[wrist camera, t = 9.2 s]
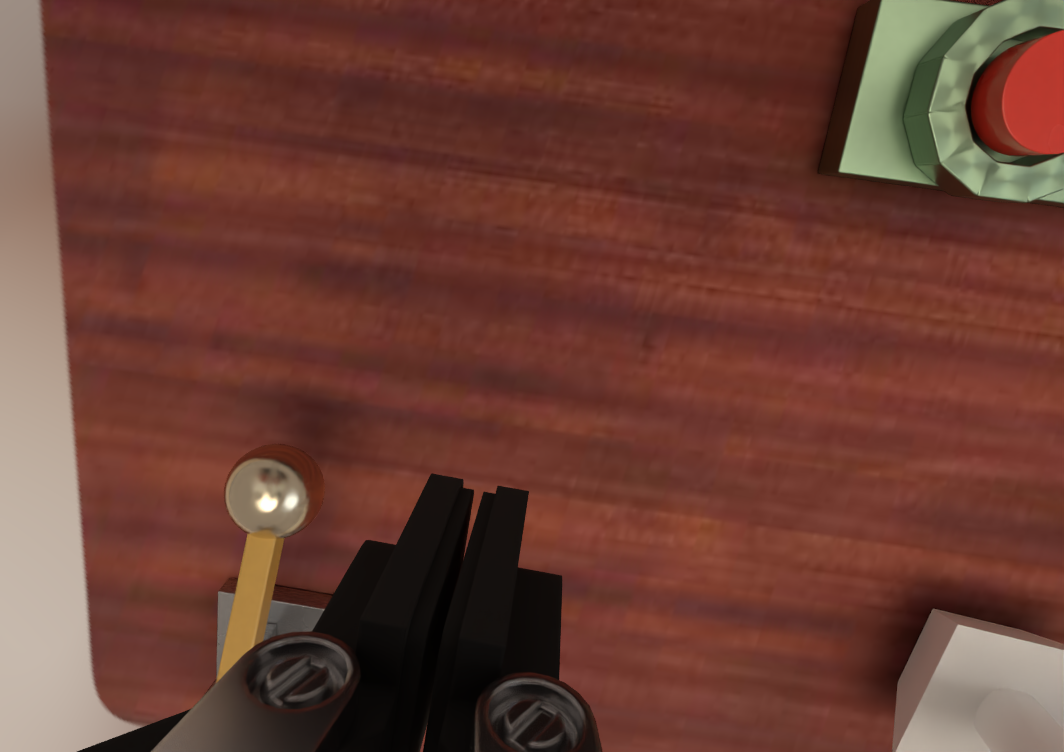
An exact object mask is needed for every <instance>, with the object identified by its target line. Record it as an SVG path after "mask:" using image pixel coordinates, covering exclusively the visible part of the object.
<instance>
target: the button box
mask: <svg viewBox="0 0 1064 752" xmlns="http://www.w3.org/2000/svg"><path fill="white" fill-rule="evenodd" d="M1061 30H1064V0H1003V1H1001V2H998V3H996V4H993V5H991V6H988V5H980V4H973V3H965V2H957V1H950V0H870V1H868V2H866V3H865V4H863V5H862V6H860V7H859V8H858V10H857V14H856V18H855V22H854V26H853V30H852V34H851V38H850V43H849V47H848V51H847V55H846V59H845V63H844V67H843V71H842V75H841V80H840V84H839V88H838V92H837V96H836V100H835V104H834V108H833V113H832V117H831V121H830V125H829V129H828V133H827V137H826V141H825V145H824V150H823V154H822V158H821V162H820V166H819V170H818V173H819V174H825V175H832V176H839V177H846V178H854V179H861V180H868V181H875V182H883V183H890V184H897V185H904V186H912V187H919V188H926V189H933V190H941V191H945V192H946V193H947V194H949V195H951V196H957V197H965V198H972V199H979V200H986V201H993V202H1011V203H1026V202H1027V203H1035V204H1042V205H1049V206H1056V207H1064V153H1060V154H1048V155H1031V156H1008V155H1004V154H1001V153H998V152H996V151H994V150H992V149H991V148H989V147H988V146H987V145H985V143H984V142H983V141H982V140H981V139H980V138H979V136H978V135H977V133H976V131H975V129H974V126H973V122H972V117H971V102H972V96H973V92H974V89H975V86H976V84H977V82H978V80H979V78H980V76H981V75H982V73H983V72H984V70H985V69H986V68H987V66H988V65H989V64H990V63H991V62H992V61H993V60H994V59H995V58H996V57H997V56H998V55H1000V54H1001V53H1002V52H1004V51H1005V50H1007V49H1008V48H1010V47H1012V46H1014V45H1017V44H1019V43H1022V42H1025V41H1029V40H1032V39H1035V38H1038V37H1041V36H1044V35H1048V34H1051V33H1054V32H1057V31H1061Z"/></svg>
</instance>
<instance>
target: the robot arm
mask: <svg viewBox="0 0 1064 752" xmlns="http://www.w3.org/2000/svg"><path fill="white" fill-rule="evenodd" d="M528 494H529V491H524V490H519V489H513V488H508V487H502V486H498V487H497V490H496V494H493V493H488V492H483V496H482V499H481V502H480V506H479V509H478V513H477V516H476V519H475V523H474V526H473V530H472V533H471V536H470V540H469V543H468V547H467V550H466V553H465V557H464V552H465V546H466V540H467V534H468V527H469V521H470V515H471V509H472V502H473V496H474V490H472V489H466V488H463V479H459V478H453V477H448V476H442V475H437V474H431V475H430V477H429V479H428V481H427V483H426V485H425V487H424V489H423V491H422V493H421V495H420V497H419V500H418V502H417V504H416V506H415V508H414V510H413V512H412V514H411V516H410V518H409V520H408V522H407V524H406V526H405V528H404V530H403V532H402V534H401V536H400V538H399V540H398V542H397V544H396V545H393V544H388V543H382V542H377V541H371V540H366V541H365V542H364V543H363V545H362V546H361V548H360V550H359V551H358V553H357V555H356V557H355V558H354V560H353V562H352V563H351V565H350V567H349V569H348V570H347V572H346V574H345V575H344V577H343V579H342V581H341V582H340V584H339V586H338V587H337V589H336V591H335V593H334V594H333V596H332V598H331V599H330V601H329V603H328V605H327V606H326V608H325V610H324V611H323V613H322V615H321V617H320V618H319V620H318V622H317V623H316V625H315V627H314V629H313V630H312V632H311V631H309V632H290V633H286V634H281V635H277V636H273V637H271V638H269V639H267V640H265V641H262V642H260V643H258V644H256V645H255V646H254V647H252V648H251V649H250V650H249V651H247V652H246V653H245V654H244V655H243V656H242V657H241V658H240V659H239V660H238V661H237V662H236V663H235V664H234V665H233V666H232V667H231V668H230V669H229V670H228V671H227V672H226V673H225V674H224V675H223V676H222V678H221V679H220V680H219V681H218V682H217V683H216V684H215V685H214V686H213V687H212V688H211V689H210V690H209V691H208V692H207V693H206V694H205V695H204V696H203V697H202V698H201V699H200V701H199V702H198V703H197V704H196V705H195V706H194V707H193V708H192V709H190V710H187V711H185V712H182V713H179V714H177V715H174V716H171V717H168V718H166V719H163V720H160V721H158V722H155V723H152V724H150V725H147V726H144V727H142V728H139V729H137V730H134V731H131V732H128V733H126V734H123V735H120V736H118V737H115V738H112V739H110V740H107V741H104V742H101V743H99V744H96V745H93V746H91V747H88V748H85V749H83V750H80V751H77V752H420V748H421V745H422V741H423V737H424V734H425V730H426V726H427V730H426V736H425V743H424V749H423V752H602V747H601V743H600V738H599V734H598V729H597V725H596V721H595V718H594V716H593V713H592V711H591V708H590V706H589V705H588V704H587V702H586V701H585V700H584V699H583V698H582V696H581V695H580V694H579V693H578V692H577V691H575V690H574V689H573V688H571V687H570V686H568V685H567V684H566V683H564V682H562V681H559V666H560V636H561V606H562V576H561V575H556V574H550V573H545V572H539V571H534V570H529V569H523V568H518V561H519V554H520V548H521V541H522V534H523V528H524V521H525V514H526V508H527V501H528ZM463 559H464V560H463ZM427 723H428V724H427Z"/></svg>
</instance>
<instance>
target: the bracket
mask: <svg viewBox="0 0 1064 752" xmlns="http://www.w3.org/2000/svg"><path fill="white" fill-rule="evenodd" d="M237 582H238V579H233V578H229V580H228V581H227V582H226V583H225V584H224V585H223V586H222V588H221V589H220V590H219V591H218V624H217V674H216V679H215V681H214V682H213V684H212V685H211V686H210V688H209V689H208V690H207V692H208V691H209V690H210V689H211V688H212V687H213V686H214V685H215V684H216V681H217V676H218V671H219V666H220V662H221V657H222V652H223V648H224V643H225V638H226V634H227V629H228V624H229V619H230V615H231V610H232V605H233V601H234V596H235V591H236V587H237ZM332 596H333V595H328V594H322V593H316V592H310V591H304V590H298V589H293V588H287V587H281V586H274V591H273V595H272V600H271V605H270V610H269V615H268V620H267V625H266V630H265V634H264V639H263V641H265V640H267V639H269V638H271V637H273V636H277V635H281V634H286V633H290V632H309V631H311V632H312V630H313V629H314V627H315V625H316V623H317V622H318V620H319V618H320V617H321V615H322V613H323V611H324V610H325V608H326V606H327V605H328V603H329V601H330V599H331V598H332ZM207 692H206V693H207ZM206 693H205V694H206Z"/></svg>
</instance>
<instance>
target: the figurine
mask: <svg viewBox="0 0 1064 752" xmlns="http://www.w3.org/2000/svg"><path fill="white" fill-rule="evenodd" d="M892 752H1064V644H1062V643H1059V642H1056V641H1053V640H1050V639H1047V638H1044V637H1041V636H1038V635H1035V634H1032V633H1029V632H1026V631H1023V630H1020V629H1016V628H1012V627H1008V626H1003V625H999V624H995V623H991V622H987V621H983V620H979V619H975V618H971V617H966V616H962V615H958V614H954V613H950V612H946V611H942V610H938V609H934V608H933V609H932V611H931V613H930V615H929V617H928V620H927V622H926V624H925V626H924V628H923V630H922V632H921V634H920V636H919V639H918V641H917V643H916V645H915V647H914V649H913V651H912V653H911V655H910V657H909V660H908V662H907V664H906V666H905V668H904V670H903V672H902V674H901V676H900V678H899V681H898V685H897V697H896V709H895V722H894V734H893V746H892Z"/></svg>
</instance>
